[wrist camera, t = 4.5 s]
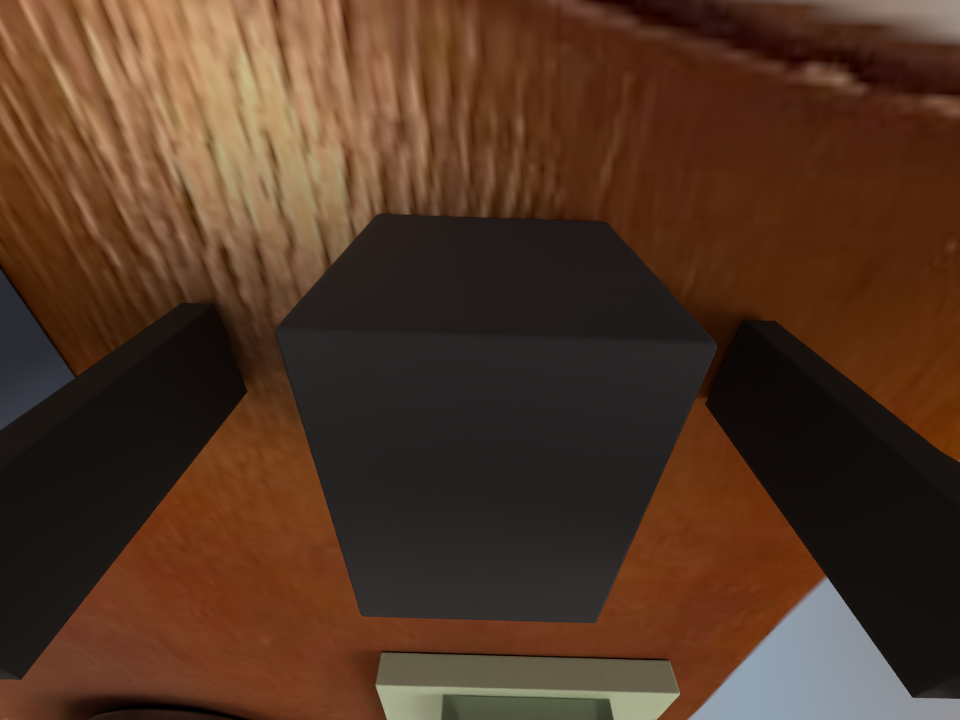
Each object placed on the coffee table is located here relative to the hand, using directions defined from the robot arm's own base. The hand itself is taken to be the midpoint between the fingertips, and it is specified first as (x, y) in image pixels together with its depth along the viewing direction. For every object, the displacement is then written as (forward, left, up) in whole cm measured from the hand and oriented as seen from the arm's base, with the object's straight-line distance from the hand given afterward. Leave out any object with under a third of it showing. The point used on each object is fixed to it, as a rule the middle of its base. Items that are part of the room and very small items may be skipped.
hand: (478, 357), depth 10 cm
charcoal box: (0, 0, 0) cm, 0 cm away
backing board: (-3, +31, 0) cm, 31 cm away
